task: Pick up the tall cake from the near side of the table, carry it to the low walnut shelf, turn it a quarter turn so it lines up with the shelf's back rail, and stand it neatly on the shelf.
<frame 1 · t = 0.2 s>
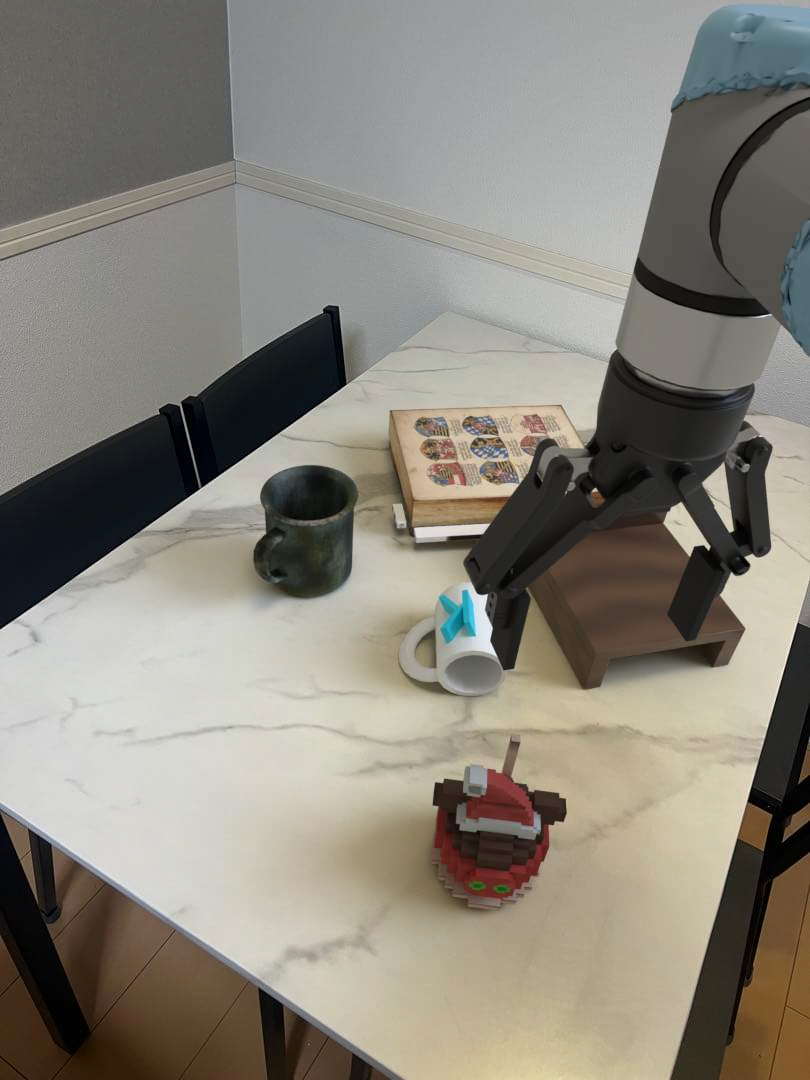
hand: (593, 640, 55), 27 cm above the table, tool pointing down, fingers open, 13 cm apart
flower: (744, 457, 125), on the table
shelf: (617, 613, 96), on the table
mug: (301, 579, 97), on the table
mug 2: (447, 653, 89), on the table
book: (484, 492, 113), on the table
cake: (483, 860, 71), on the table
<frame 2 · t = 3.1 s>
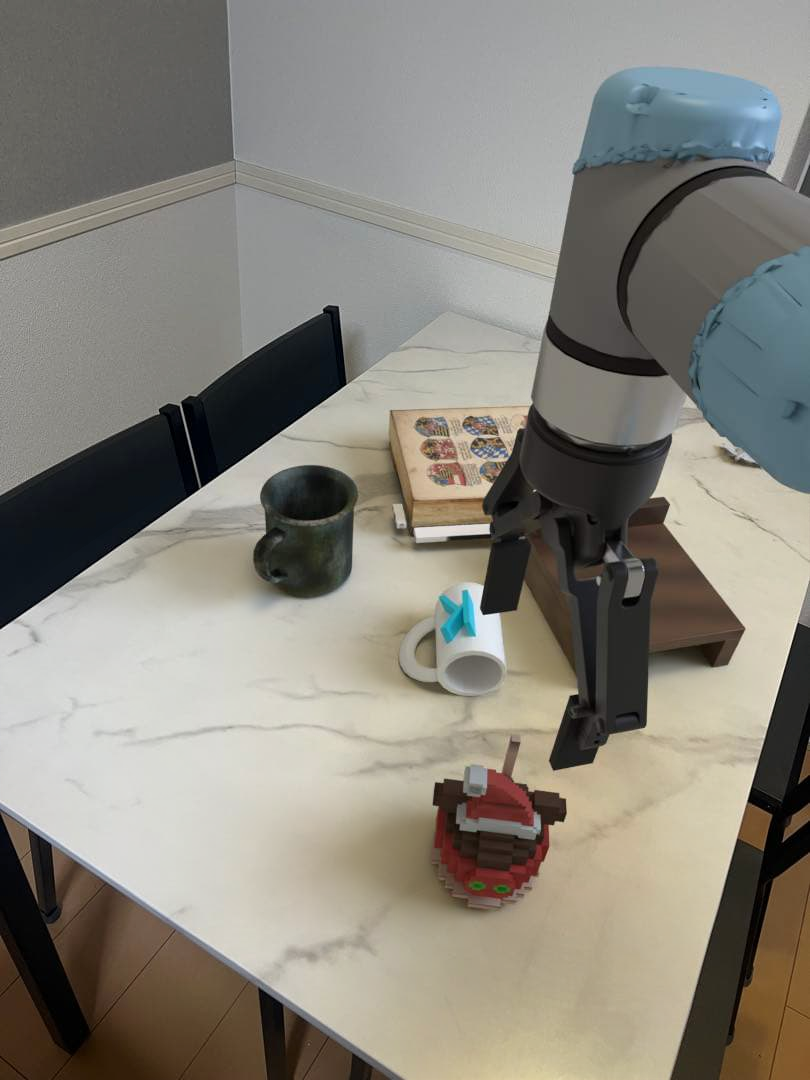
hand: (531, 679, 55), 24 cm above the table, tool pointing down, fingers open, 13 cm apart
nothing on the table moved.
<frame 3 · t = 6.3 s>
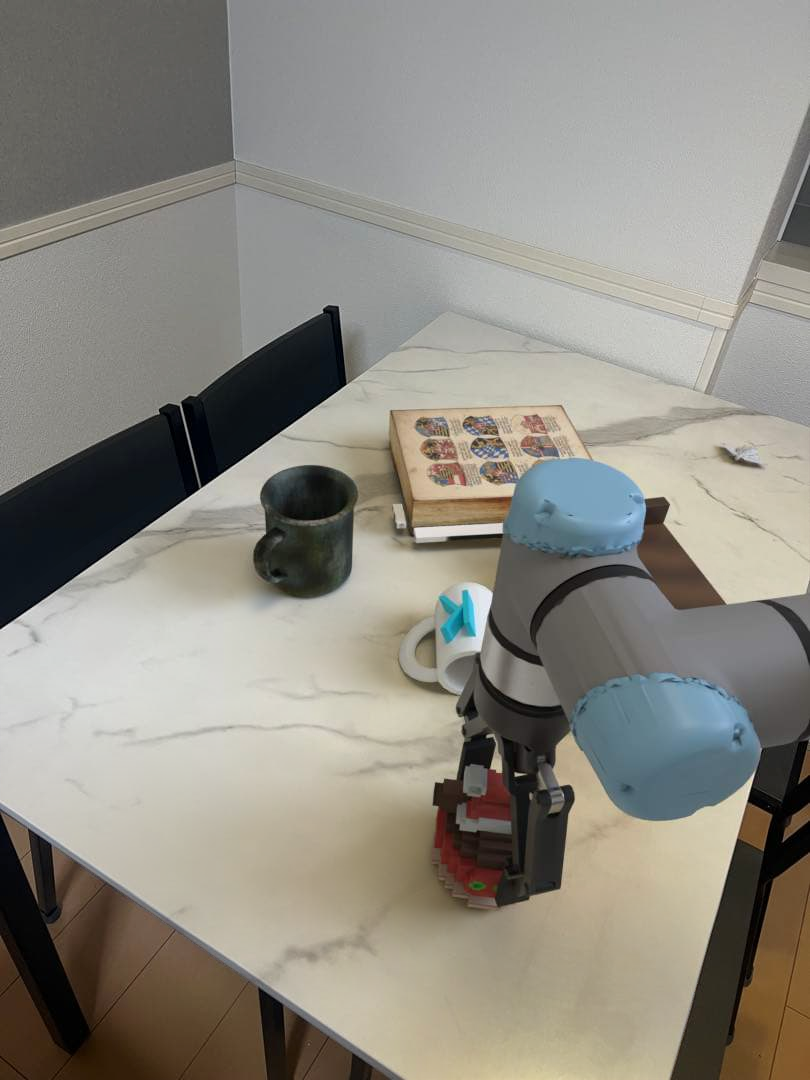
hand: (489, 839, 68), 4 cm above the table, tool pointing down, fingers closed on cake, 10 cm apart
cake: (483, 860, 71), on the table, touching gripper
everything else where it was.
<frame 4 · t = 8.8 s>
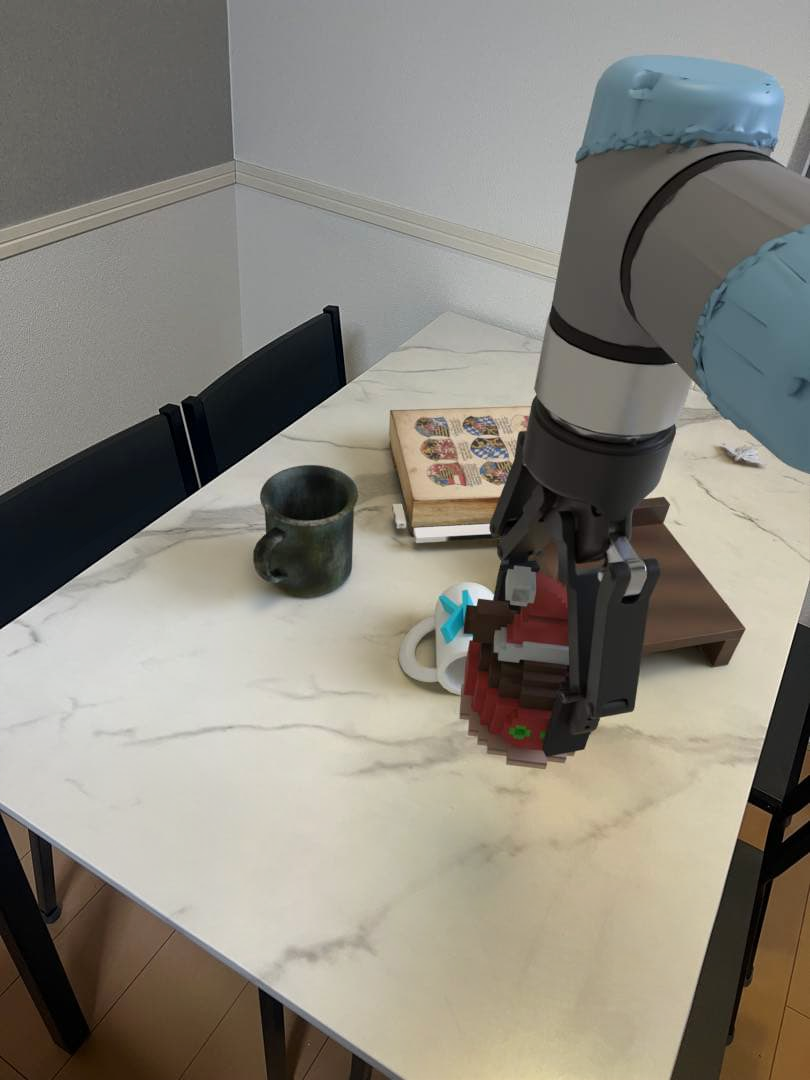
hand: (532, 685, 56), 24 cm above the table, tool pointing down, fingers closed on cake, 10 cm apart
cake: (522, 719, 58), point 20 cm above the table, touching gripper
everything else where it was.
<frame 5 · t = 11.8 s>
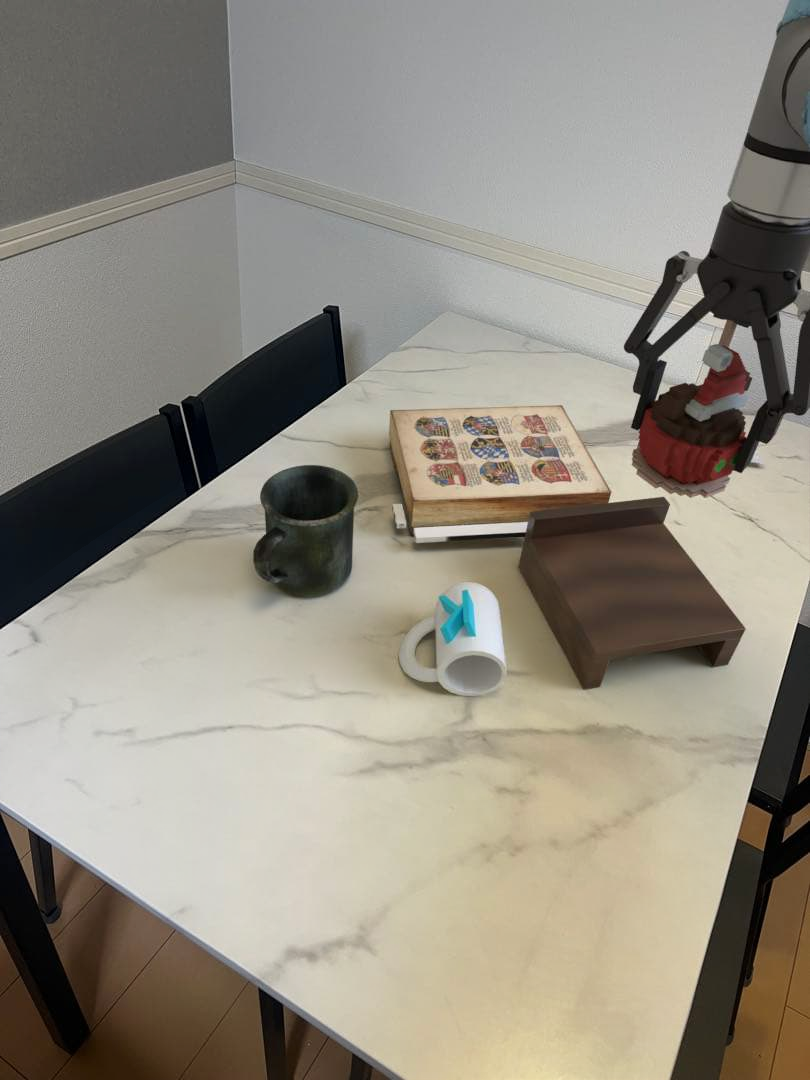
hand: (689, 444, 78), 26 cm above the table, tool pointing down, fingers closed on cake, 10 cm apart
cake: (676, 476, 80), point 22 cm above the table, touching gripper
everything else where it was.
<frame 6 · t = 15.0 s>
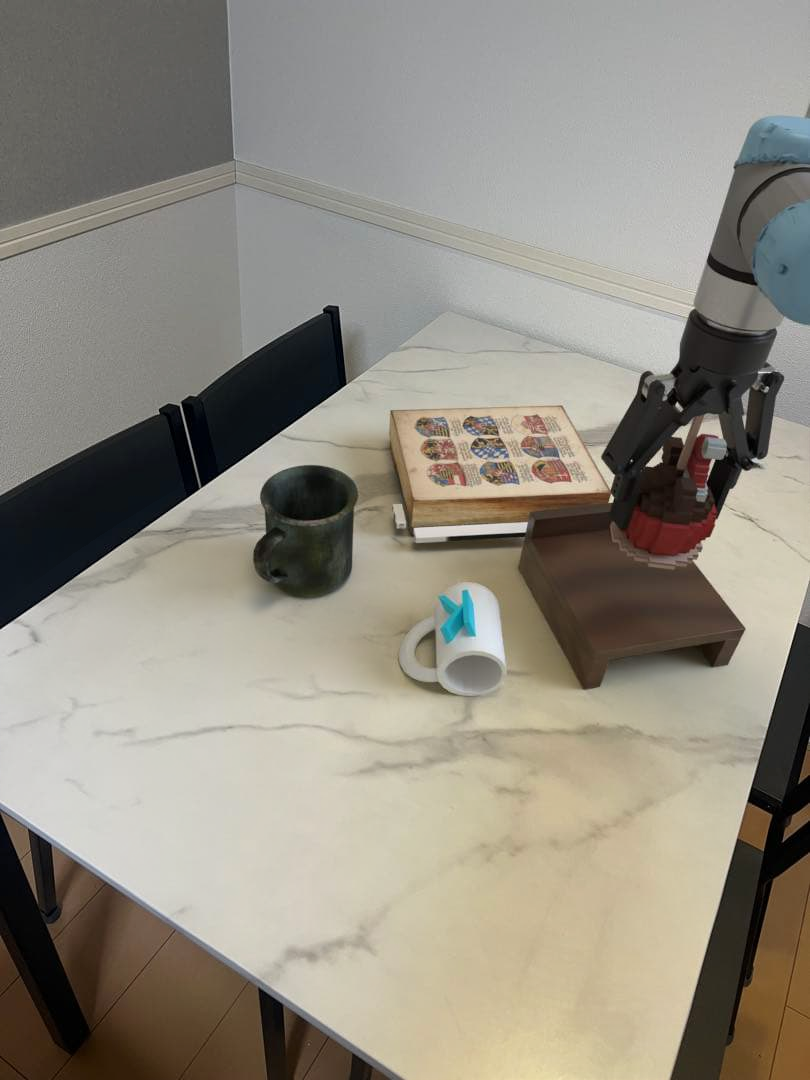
hand: (663, 517, 84), 16 cm above the table, tool pointing down, fingers closed on cake, 10 cm apart
cake: (652, 545, 86), point 13 cm above the table, touching gripper
everything else where it was.
when the fingers open (10 cm above the table, at t = 17.4 s): cake stays where it is, resting on shelf.
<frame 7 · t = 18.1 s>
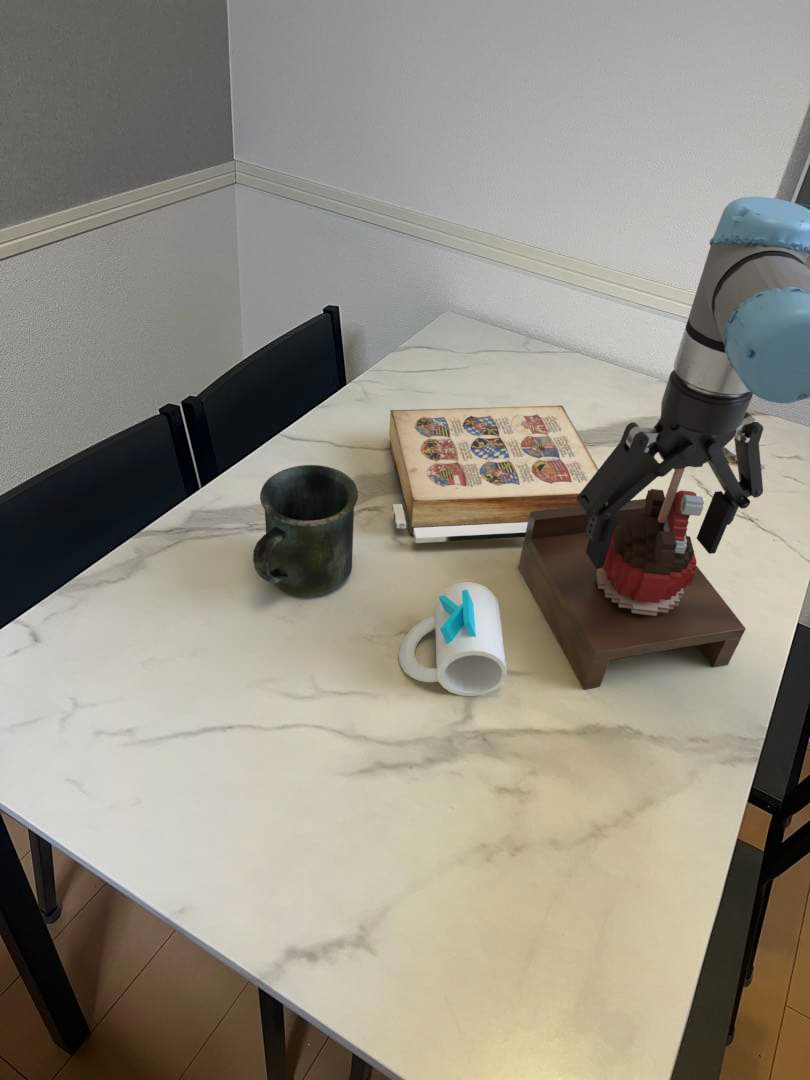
hand: (650, 553, 87), 11 cm above the table, tool pointing down, fingers open, 13 cm apart
cake: (636, 590, 91), point 6 cm above the table, touching shelf
everything else where it was.
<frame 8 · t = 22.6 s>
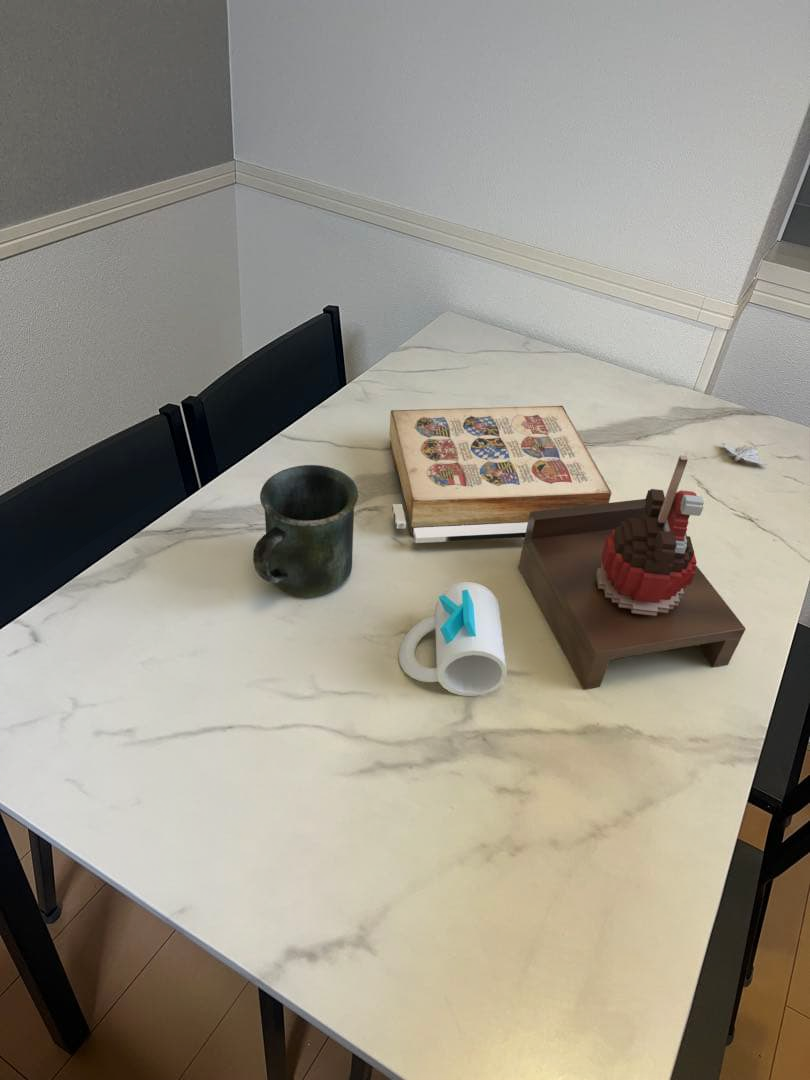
nothing on the table moved.
at the end: cake inside the target area on the shelf (0.4 cm from its centre), point 5.8 cm above the shelf's base; cake tilted 0°; the gripper is holding nothing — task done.
